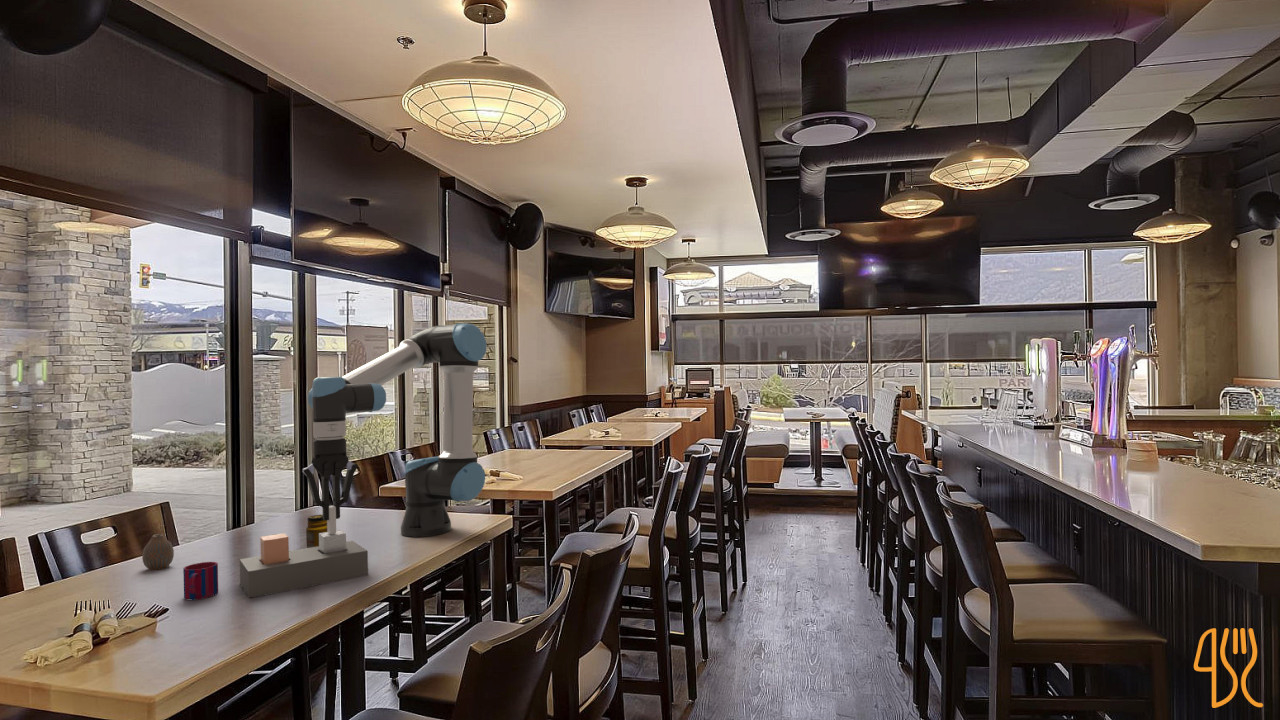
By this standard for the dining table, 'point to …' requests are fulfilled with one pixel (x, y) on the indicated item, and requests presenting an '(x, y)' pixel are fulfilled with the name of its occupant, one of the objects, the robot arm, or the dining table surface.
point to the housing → (302, 569)
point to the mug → (200, 580)
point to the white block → (332, 542)
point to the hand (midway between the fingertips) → (331, 532)
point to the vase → (158, 553)
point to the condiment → (315, 530)
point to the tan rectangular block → (274, 548)
